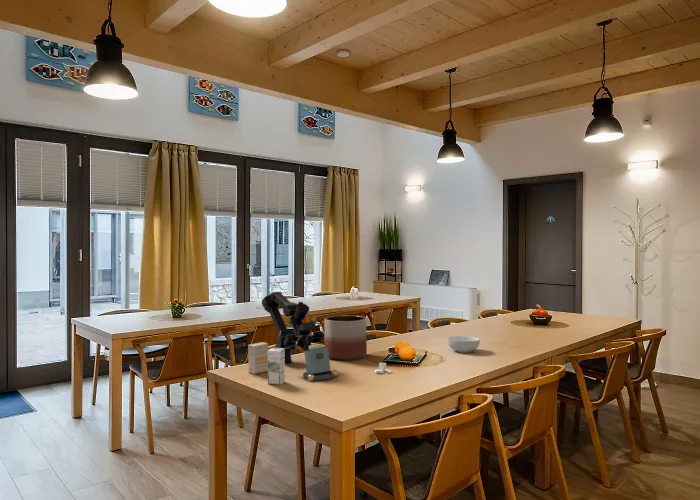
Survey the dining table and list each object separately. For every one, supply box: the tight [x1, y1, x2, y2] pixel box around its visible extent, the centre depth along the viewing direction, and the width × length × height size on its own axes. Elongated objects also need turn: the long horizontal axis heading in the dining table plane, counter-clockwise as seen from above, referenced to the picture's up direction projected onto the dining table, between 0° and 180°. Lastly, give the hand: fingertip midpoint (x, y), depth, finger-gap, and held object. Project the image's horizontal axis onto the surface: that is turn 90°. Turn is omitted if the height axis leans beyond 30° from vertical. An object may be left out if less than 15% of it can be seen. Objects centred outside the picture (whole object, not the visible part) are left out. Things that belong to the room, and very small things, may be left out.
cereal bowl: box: [447, 335, 480, 354], centre depth 274 cm, size 17×17×7 cm
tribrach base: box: [302, 369, 339, 383], centre depth 224 cm, size 15×15×2 cm
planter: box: [323, 314, 368, 361], centre depth 263 cm, size 22×22×20 cm
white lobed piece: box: [374, 362, 392, 375], centre depth 232 cm, size 9×8×4 cm
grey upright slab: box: [303, 343, 332, 374], centre depth 223 cm, size 6×10×12 cm, turn 123°
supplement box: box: [247, 341, 269, 375], centre depth 232 cm, size 8×5×13 cm, turn 134°
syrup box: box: [267, 347, 286, 386], centre depth 214 cm, size 6×6×14 cm
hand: (310, 353), depth 230 cm, fingers closed
